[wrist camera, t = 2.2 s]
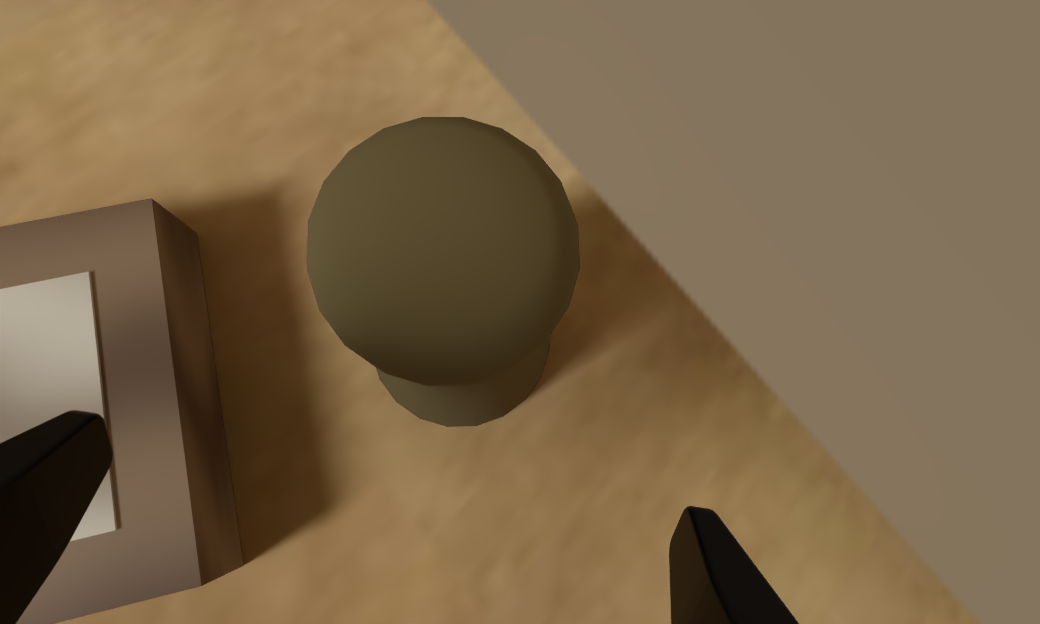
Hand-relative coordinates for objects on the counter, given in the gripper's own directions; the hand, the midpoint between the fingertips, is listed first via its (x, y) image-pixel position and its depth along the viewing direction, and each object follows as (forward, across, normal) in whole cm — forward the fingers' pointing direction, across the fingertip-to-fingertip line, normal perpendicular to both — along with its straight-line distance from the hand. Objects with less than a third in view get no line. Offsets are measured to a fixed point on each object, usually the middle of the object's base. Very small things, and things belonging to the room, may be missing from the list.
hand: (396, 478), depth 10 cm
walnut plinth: (+7, +13, +8) cm, 17 cm away
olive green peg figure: (+11, 0, +5) cm, 12 cm away
